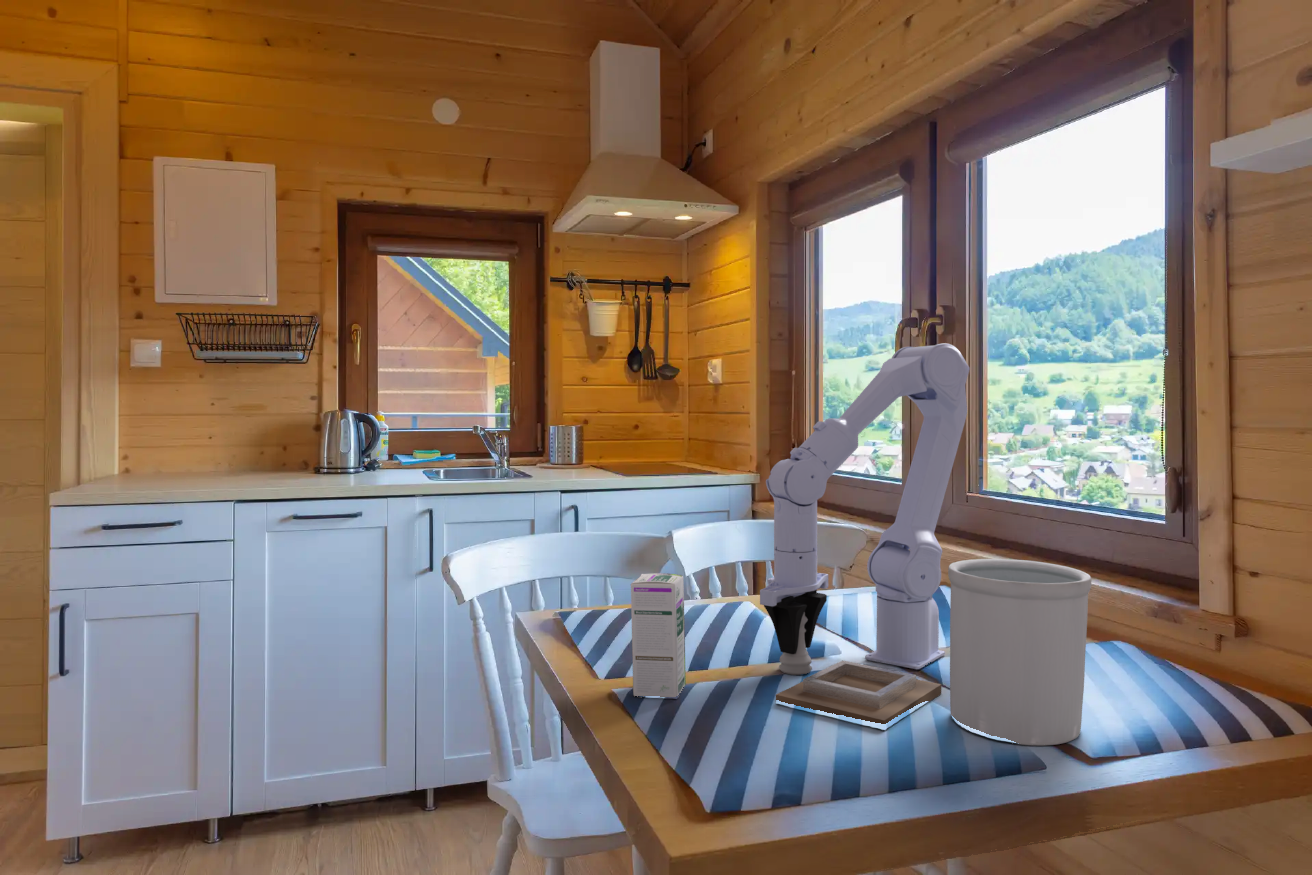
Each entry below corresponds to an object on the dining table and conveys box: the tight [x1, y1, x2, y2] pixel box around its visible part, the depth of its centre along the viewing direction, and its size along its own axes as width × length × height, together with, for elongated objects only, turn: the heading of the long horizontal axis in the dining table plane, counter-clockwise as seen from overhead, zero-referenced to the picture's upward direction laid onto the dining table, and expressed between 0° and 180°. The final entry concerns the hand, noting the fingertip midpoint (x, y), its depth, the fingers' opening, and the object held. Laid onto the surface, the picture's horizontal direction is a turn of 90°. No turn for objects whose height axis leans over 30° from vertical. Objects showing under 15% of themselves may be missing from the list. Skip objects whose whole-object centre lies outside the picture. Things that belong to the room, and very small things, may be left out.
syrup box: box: [630, 572, 687, 698], centre depth 113 cm, size 6×6×14 cm
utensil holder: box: [947, 558, 1092, 746], centre depth 101 cm, size 15×15×18 cm
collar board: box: [775, 660, 942, 724], centre depth 110 cm, size 16×14×3 cm
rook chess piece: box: [778, 612, 813, 676], centre depth 122 cm, size 4×4×8 cm
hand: (795, 649), depth 122 cm, fingers closed on rook chess piece, 3 cm apart
